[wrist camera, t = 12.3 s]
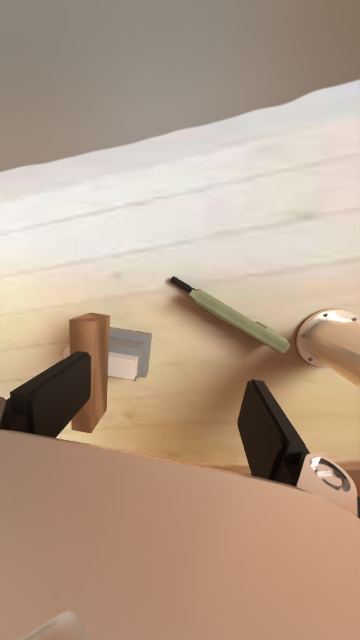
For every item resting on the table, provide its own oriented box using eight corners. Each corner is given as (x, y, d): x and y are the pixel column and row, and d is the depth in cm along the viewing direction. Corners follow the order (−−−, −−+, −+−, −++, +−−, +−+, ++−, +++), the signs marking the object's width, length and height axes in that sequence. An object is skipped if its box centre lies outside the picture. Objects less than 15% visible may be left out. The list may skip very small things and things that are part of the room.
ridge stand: (151, 333, 40) (141, 347, 32) (147, 372, 42) (137, 394, 34) (83, 323, 40) (57, 333, 33) (83, 362, 43) (59, 380, 35)
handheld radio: (266, 344, 38) (168, 286, 37) (275, 332, 38) (175, 272, 36) (282, 357, 32) (163, 286, 31) (293, 342, 31) (172, 269, 30)
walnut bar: (109, 315, 31) (92, 323, 26) (106, 410, 36) (90, 433, 30) (90, 312, 31) (69, 319, 26) (89, 407, 36) (71, 429, 31)
